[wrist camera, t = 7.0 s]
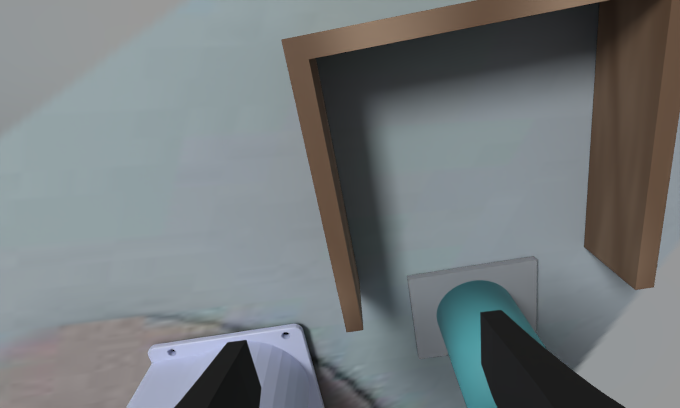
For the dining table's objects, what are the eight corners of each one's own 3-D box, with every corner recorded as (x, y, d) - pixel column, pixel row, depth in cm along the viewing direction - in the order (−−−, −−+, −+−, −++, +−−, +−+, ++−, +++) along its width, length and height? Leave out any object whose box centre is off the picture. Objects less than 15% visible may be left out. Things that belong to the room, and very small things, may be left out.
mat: (417, 354, 24) (419, 359, 24) (407, 275, 22) (408, 279, 22) (533, 338, 24) (536, 342, 23) (533, 256, 22) (537, 260, 21)
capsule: (439, 347, 24) (474, 452, 18) (433, 286, 22) (468, 380, 16) (514, 337, 23) (575, 440, 17) (513, 274, 22) (580, 364, 16)
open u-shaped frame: (345, 283, 22) (346, 332, 19) (293, 39, 17) (281, 39, 14) (599, 244, 21) (653, 287, 18) (620, -26, 16) (702, -46, 13)
